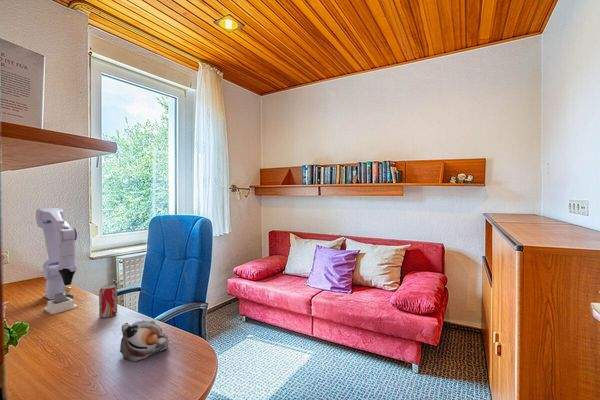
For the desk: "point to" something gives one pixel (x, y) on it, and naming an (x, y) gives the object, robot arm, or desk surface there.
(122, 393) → the desk surface
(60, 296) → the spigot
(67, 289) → the lock pin
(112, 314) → the beverage can
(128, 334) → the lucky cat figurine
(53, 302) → the dock
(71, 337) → the desk surface
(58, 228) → the robot arm
